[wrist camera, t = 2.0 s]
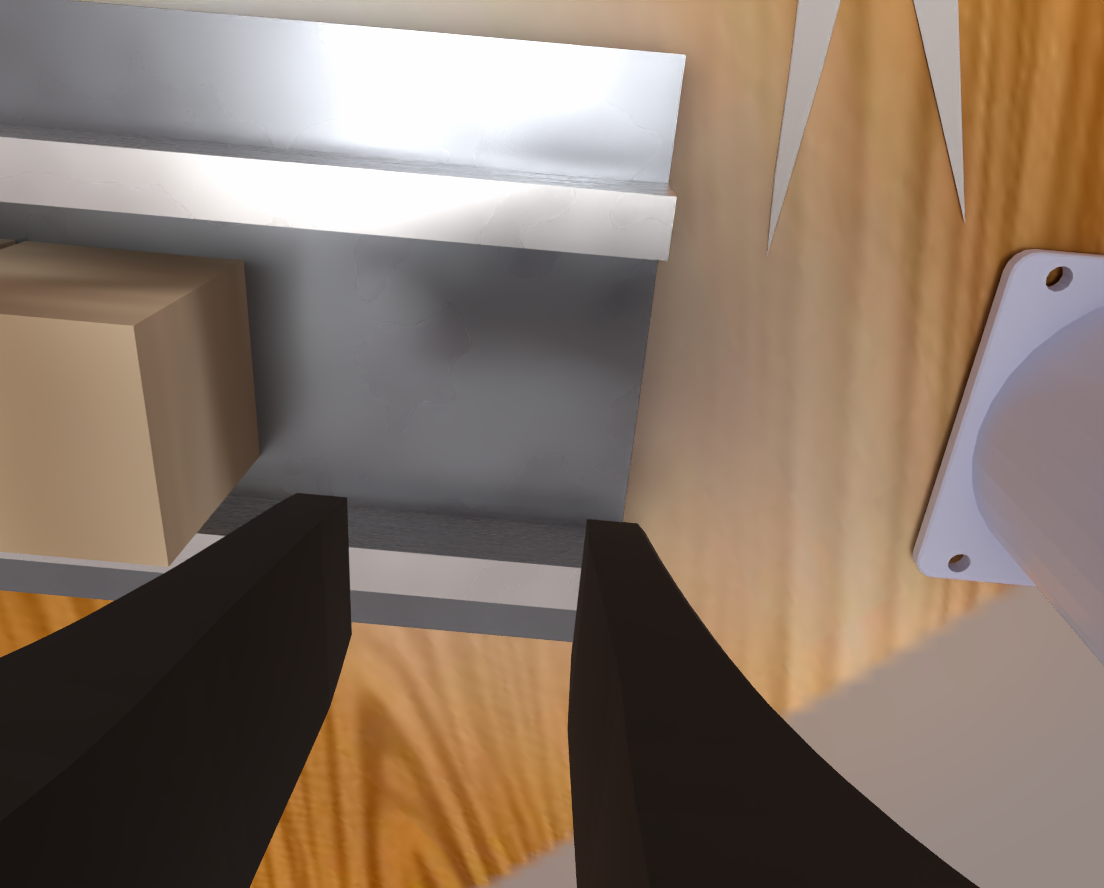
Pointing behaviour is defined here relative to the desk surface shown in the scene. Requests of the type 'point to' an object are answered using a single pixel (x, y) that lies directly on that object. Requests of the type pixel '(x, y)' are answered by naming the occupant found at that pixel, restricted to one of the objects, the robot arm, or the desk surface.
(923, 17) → the scissors
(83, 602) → the desk surface
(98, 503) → the block
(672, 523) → the desk surface
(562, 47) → the slot board
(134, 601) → the robot arm
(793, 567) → the desk surface
